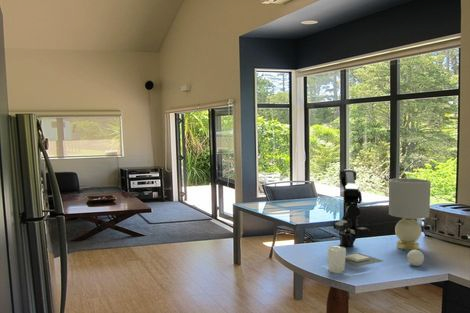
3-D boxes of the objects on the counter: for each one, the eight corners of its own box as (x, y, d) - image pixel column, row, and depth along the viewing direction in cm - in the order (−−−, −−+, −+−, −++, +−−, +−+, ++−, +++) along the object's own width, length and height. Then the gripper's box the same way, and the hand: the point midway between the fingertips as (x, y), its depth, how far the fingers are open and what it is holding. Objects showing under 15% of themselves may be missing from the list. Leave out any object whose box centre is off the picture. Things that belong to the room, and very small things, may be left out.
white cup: (335, 274, 205) (335, 251, 204) (323, 269, 212) (323, 247, 211) (349, 272, 209) (349, 249, 208) (337, 267, 216) (338, 245, 215)
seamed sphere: (422, 263, 222) (422, 248, 222) (425, 268, 215) (426, 252, 215) (399, 262, 224) (399, 247, 224) (402, 267, 217) (402, 251, 216)
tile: (344, 255, 228) (357, 259, 222) (357, 253, 232) (369, 257, 226) (344, 258, 228) (357, 262, 222) (357, 256, 233) (369, 260, 226)
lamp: (383, 248, 249) (385, 180, 246) (392, 241, 266) (394, 177, 264) (424, 254, 238) (426, 183, 236) (431, 246, 255) (433, 179, 253)
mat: (331, 259, 229) (331, 257, 229) (359, 254, 238) (359, 252, 238) (356, 267, 215) (356, 266, 215) (384, 262, 224) (384, 260, 224)
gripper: (325, 212, 233) (324, 244, 234) (352, 218, 217) (352, 253, 218) (342, 210, 239) (341, 241, 240) (370, 216, 223) (369, 249, 224)
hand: (350, 246), depth 230 cm, fingers closed
